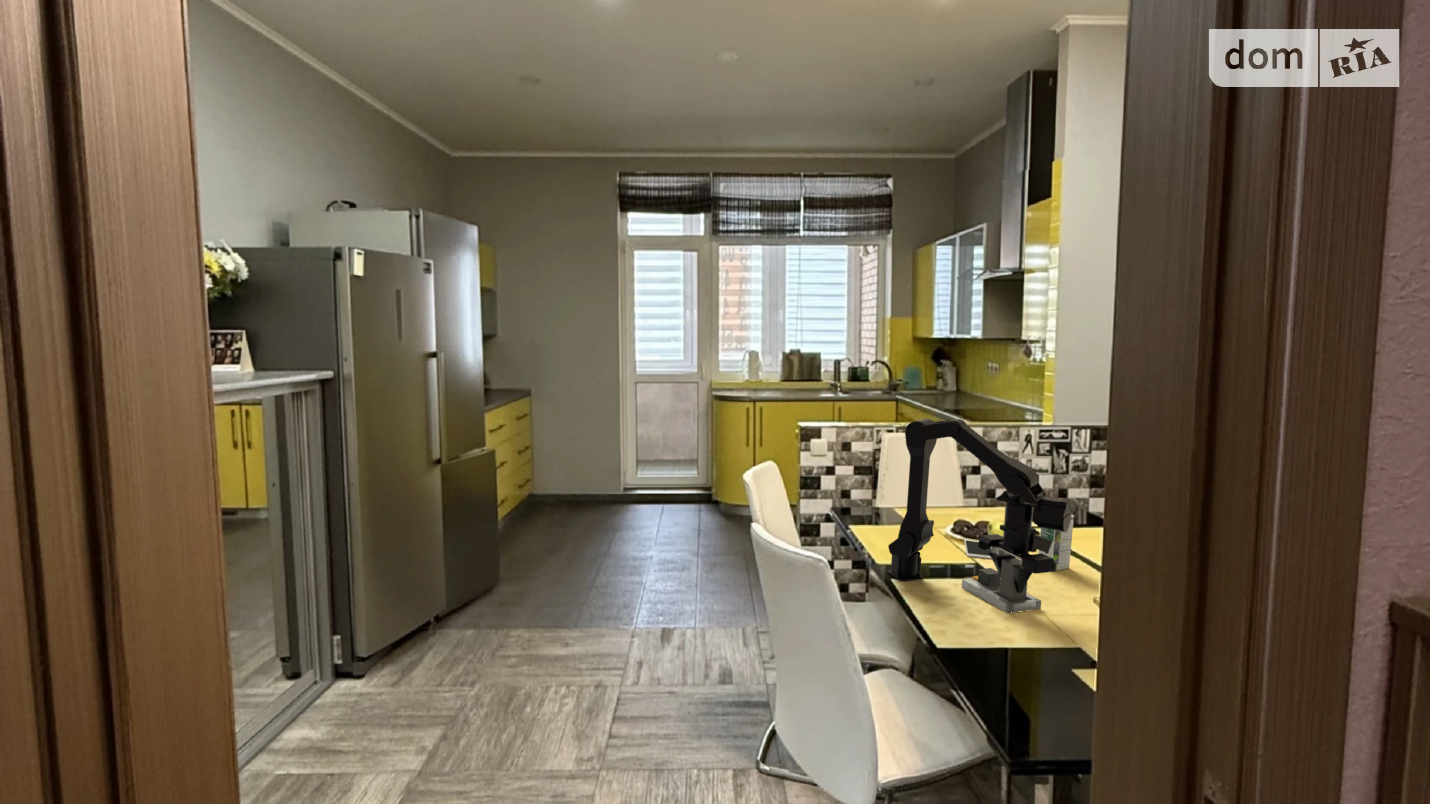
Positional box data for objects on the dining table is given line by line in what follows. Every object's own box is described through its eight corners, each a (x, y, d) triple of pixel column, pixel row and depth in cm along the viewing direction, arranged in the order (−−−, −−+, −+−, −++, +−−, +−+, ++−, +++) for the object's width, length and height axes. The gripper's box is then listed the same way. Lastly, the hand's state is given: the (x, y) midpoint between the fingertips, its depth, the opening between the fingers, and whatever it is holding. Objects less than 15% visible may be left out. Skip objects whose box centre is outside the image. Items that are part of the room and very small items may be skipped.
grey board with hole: (1008, 613, 162) (1009, 592, 161) (961, 587, 177) (962, 567, 176) (1040, 609, 165) (1042, 587, 164) (992, 583, 180) (993, 563, 179)
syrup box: (1036, 564, 194) (1040, 511, 192) (1051, 561, 196) (1055, 508, 195) (1055, 571, 189) (1059, 517, 187) (1070, 568, 191) (1075, 514, 190)
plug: (1011, 604, 164) (1014, 565, 163) (999, 597, 168) (1001, 559, 167) (1025, 602, 166) (1028, 563, 164) (1013, 595, 169) (1016, 558, 168)
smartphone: (989, 543, 212) (990, 540, 212) (995, 561, 197) (995, 557, 197) (963, 541, 214) (964, 538, 213) (967, 558, 199) (967, 554, 199)
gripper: (1078, 532, 158) (1072, 601, 160) (1017, 509, 176) (1012, 571, 178) (1037, 536, 155) (1031, 607, 157) (979, 512, 172) (974, 576, 174)
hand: (1012, 589), depth 166 cm, fingers closed on plug, 4 cm apart
